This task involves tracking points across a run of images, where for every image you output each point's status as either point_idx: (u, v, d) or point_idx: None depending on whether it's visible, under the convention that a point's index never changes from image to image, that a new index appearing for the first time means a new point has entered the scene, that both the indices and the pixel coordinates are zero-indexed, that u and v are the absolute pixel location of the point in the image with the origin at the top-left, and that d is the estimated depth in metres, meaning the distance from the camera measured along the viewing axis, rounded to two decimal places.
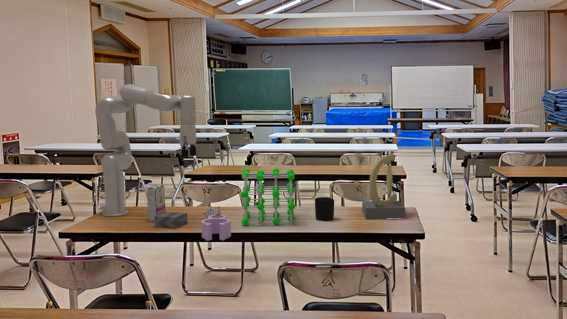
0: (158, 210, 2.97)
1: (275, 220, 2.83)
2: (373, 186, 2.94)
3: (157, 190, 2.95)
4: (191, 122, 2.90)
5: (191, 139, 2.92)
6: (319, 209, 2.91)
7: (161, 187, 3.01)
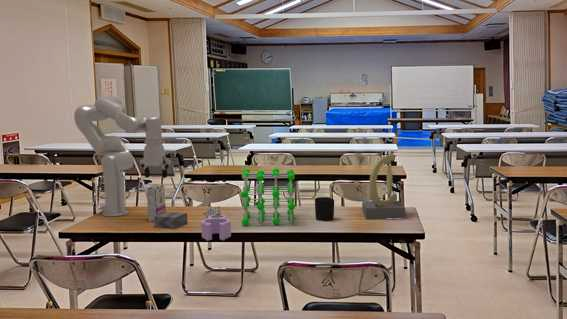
0: (158, 210, 2.97)
1: (275, 220, 2.83)
2: (373, 186, 2.94)
3: (157, 190, 2.95)
4: None
5: None
6: (319, 209, 2.91)
7: (161, 187, 3.01)
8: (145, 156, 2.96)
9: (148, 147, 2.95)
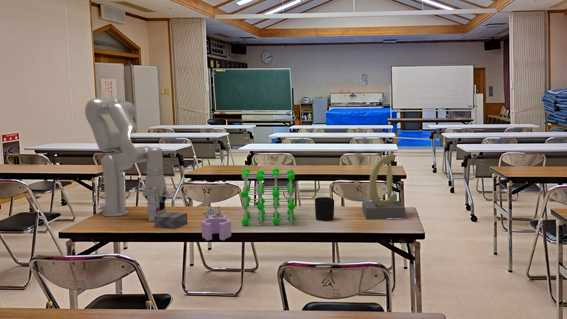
0: (158, 210, 2.97)
1: (275, 220, 2.83)
2: (373, 186, 2.94)
3: (157, 190, 2.95)
4: None
5: None
6: (319, 209, 2.91)
7: None
8: (146, 186, 2.98)
9: (149, 177, 2.97)
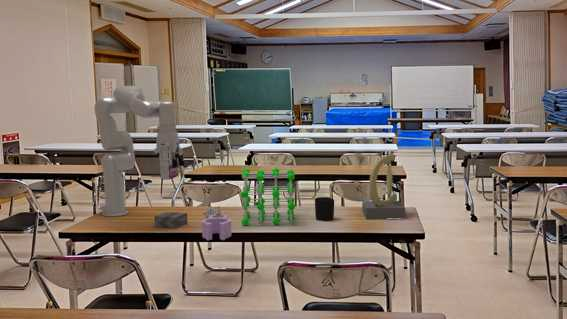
0: (171, 167, 2.81)
1: (275, 220, 2.83)
2: (373, 186, 2.94)
3: (169, 146, 2.79)
4: None
5: None
6: (319, 209, 2.91)
7: None
8: (158, 143, 2.82)
9: (161, 133, 2.80)
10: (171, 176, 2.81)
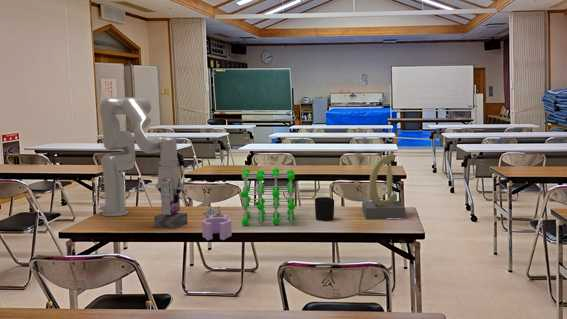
0: (173, 203, 2.83)
1: (275, 220, 2.83)
2: (373, 186, 2.94)
3: (171, 182, 2.81)
4: None
5: None
6: (319, 209, 2.91)
7: None
8: (159, 178, 2.83)
9: (163, 169, 2.82)
10: (172, 211, 2.82)
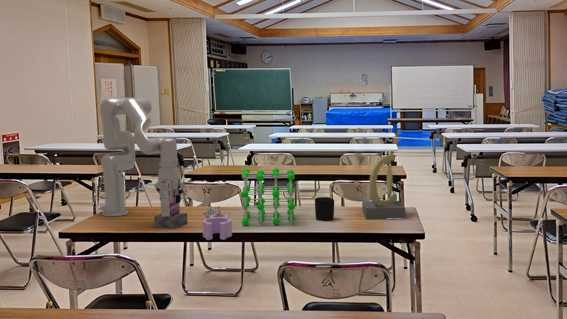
0: (172, 205, 2.83)
1: (275, 220, 2.83)
2: (373, 186, 2.94)
3: (170, 184, 2.81)
4: None
5: None
6: (319, 209, 2.91)
7: None
8: (159, 179, 2.83)
9: (163, 170, 2.82)
10: (172, 213, 2.83)
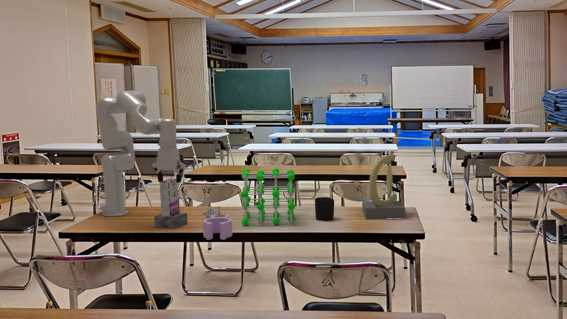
0: (172, 205, 2.83)
1: (275, 220, 2.83)
2: (373, 186, 2.94)
3: (170, 184, 2.81)
4: None
5: None
6: (319, 209, 2.91)
7: (175, 181, 2.86)
8: (158, 160, 2.83)
9: (162, 150, 2.81)
10: (172, 213, 2.83)
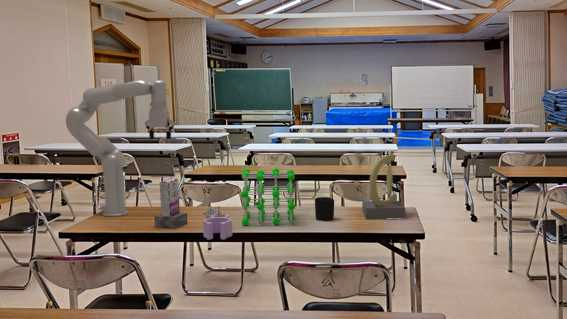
0: (172, 205, 2.83)
1: (275, 220, 2.83)
2: (373, 186, 2.94)
3: (170, 184, 2.81)
4: None
5: None
6: (319, 209, 2.91)
7: (175, 181, 2.86)
8: (150, 118, 3.09)
9: (153, 109, 3.08)
10: (172, 213, 2.83)
